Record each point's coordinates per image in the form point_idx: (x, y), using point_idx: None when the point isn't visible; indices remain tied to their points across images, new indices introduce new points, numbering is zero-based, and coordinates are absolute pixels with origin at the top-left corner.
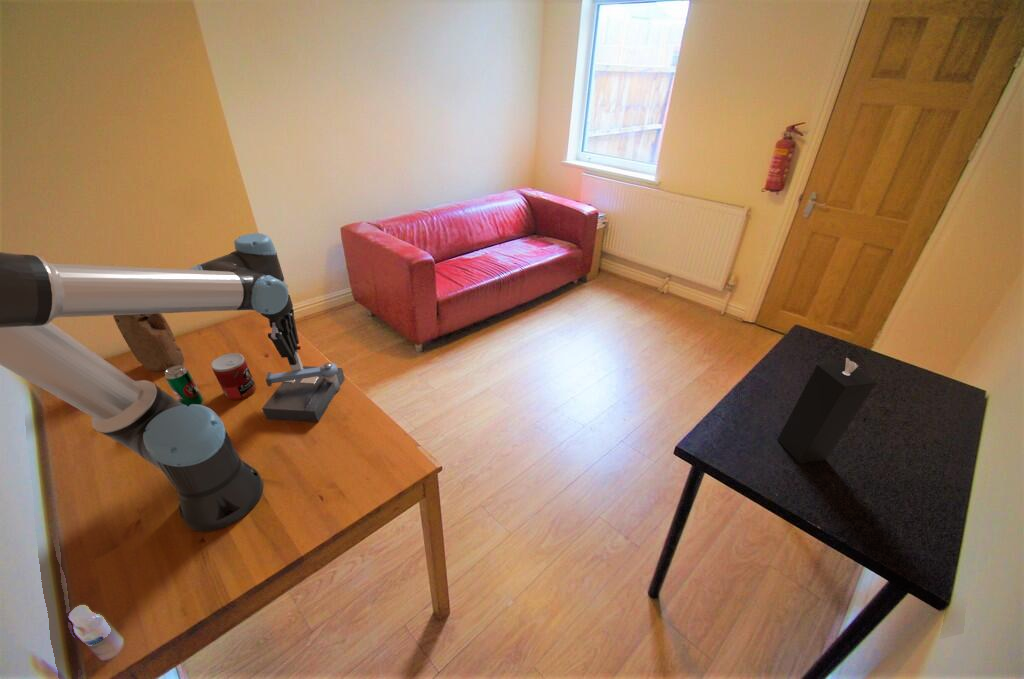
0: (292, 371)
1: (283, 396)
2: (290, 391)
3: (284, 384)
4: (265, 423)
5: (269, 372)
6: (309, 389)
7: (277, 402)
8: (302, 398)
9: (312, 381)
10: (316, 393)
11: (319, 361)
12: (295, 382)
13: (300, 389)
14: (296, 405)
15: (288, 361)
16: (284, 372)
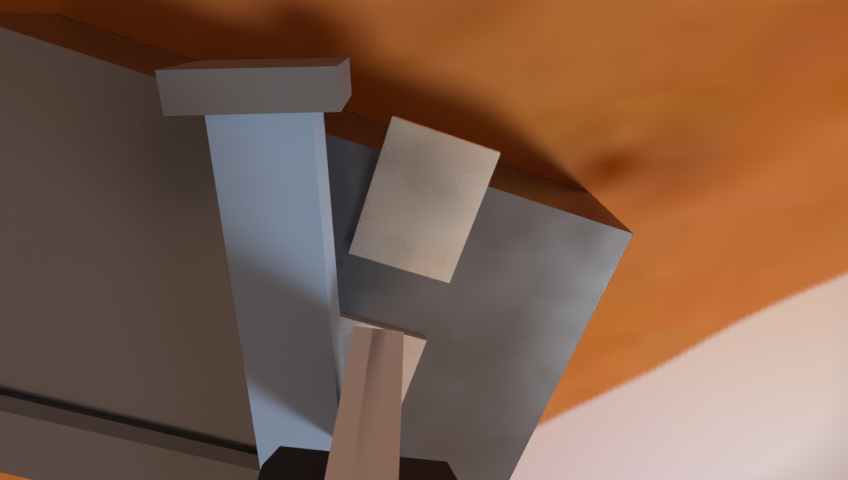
0: (324, 358)
1: (140, 198)
2: (212, 249)
3: (337, 176)
4: (3, 12)
5: (330, 97)
6: (221, 394)
7: (51, 157)
8: (101, 358)
9: None
10: (160, 447)
11: (736, 318)
12: (346, 272)
13: (233, 326)
14: (7, 325)
15: (332, 446)
16: (322, 275)
